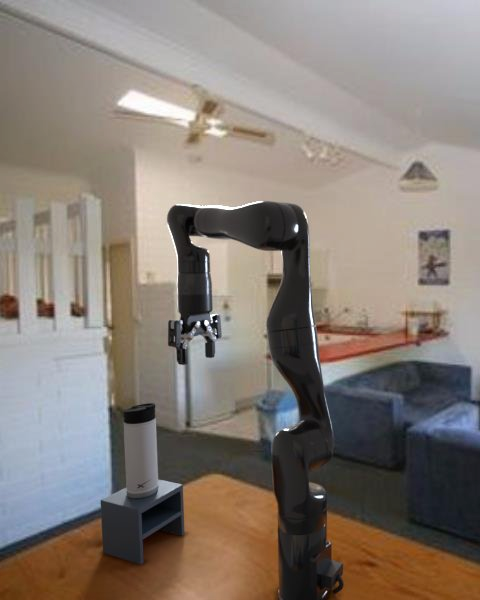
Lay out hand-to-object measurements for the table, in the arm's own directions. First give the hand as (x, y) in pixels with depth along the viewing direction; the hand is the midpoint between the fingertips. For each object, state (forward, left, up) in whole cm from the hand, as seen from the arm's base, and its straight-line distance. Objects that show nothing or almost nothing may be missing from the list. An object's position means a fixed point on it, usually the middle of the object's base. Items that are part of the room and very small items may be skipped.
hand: (196, 360), depth 113 cm
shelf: (+6, +11, -40) cm, 42 cm away
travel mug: (+6, +11, -28) cm, 31 cm away
